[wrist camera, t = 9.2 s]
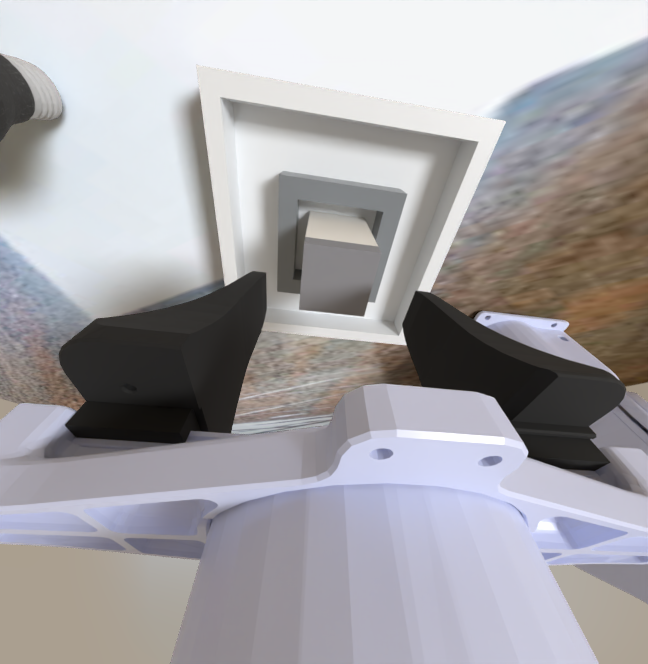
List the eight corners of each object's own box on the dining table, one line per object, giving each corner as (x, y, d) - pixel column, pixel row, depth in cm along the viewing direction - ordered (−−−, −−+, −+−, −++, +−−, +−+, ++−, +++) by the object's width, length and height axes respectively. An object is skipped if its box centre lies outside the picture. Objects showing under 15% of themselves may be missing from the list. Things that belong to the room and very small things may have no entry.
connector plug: (364, 218, 18) (381, 253, 13) (353, 268, 21) (363, 316, 15) (310, 210, 18) (304, 243, 12) (305, 263, 20) (298, 309, 15)
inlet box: (478, 123, 16) (506, 121, 13) (398, 325, 25) (406, 345, 23) (217, 76, 14) (196, 64, 12) (239, 308, 24) (230, 327, 22)
